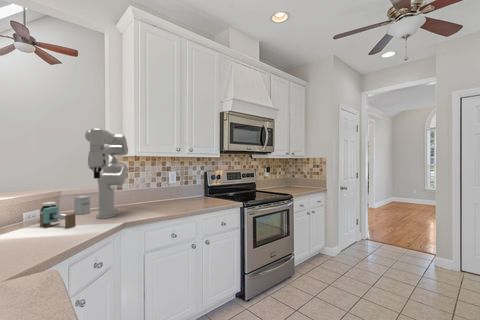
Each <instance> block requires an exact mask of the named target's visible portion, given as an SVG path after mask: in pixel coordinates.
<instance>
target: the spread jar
mask: <svg viewBox="0 0 480 320" xmlns="http://www.w3.org/2000/svg"><path fill="white" fill-rule="evenodd" d="M50 207H58V206H57V205H56V201H48V202H47V201H46V202H42V207H41V209H40V214H42V213H43V209H45V208H50ZM58 214H62V212H61V211H59V210H58ZM60 220H61V219H58V221H60Z"/></svg>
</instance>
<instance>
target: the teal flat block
mask: <svg viewBox="0 0 480 320" xmlns="http://www.w3.org/2000/svg"><path fill="white" fill-rule="evenodd" d="M58 211H59V206H57V207H50V208H45V209H43V223H50V222H51V223H54V222H58V221H59V220H58V219H50V213H55V214H58Z"/></svg>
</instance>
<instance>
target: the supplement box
mask: <svg viewBox="0 0 480 320" xmlns="http://www.w3.org/2000/svg"><path fill="white" fill-rule="evenodd" d="M73 200H74V202H73V204H74V205H73V207H74V208H73V209H74V211H73V213H74V214H75V215H79V216H80V215H86V214H89V213H90V212H91V196H87V195H80V196H75V197H74V199H73Z"/></svg>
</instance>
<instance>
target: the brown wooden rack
mask: <svg viewBox="0 0 480 320" xmlns="http://www.w3.org/2000/svg"><path fill="white" fill-rule="evenodd" d="M50 219H60V220H64V228H65V229H70V228H73V227H74V228H75V227H76V214H74V212H72V213H69V214H67V213H61V214H55V213H50ZM60 224H61V223H59V222H58V223H54V224H52V222H50V223H43V213H42V214H41V213H40V214H39V227H40V228H41V227H42V228H44V229H47V228H51V227H54V226H58V225H60Z"/></svg>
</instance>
